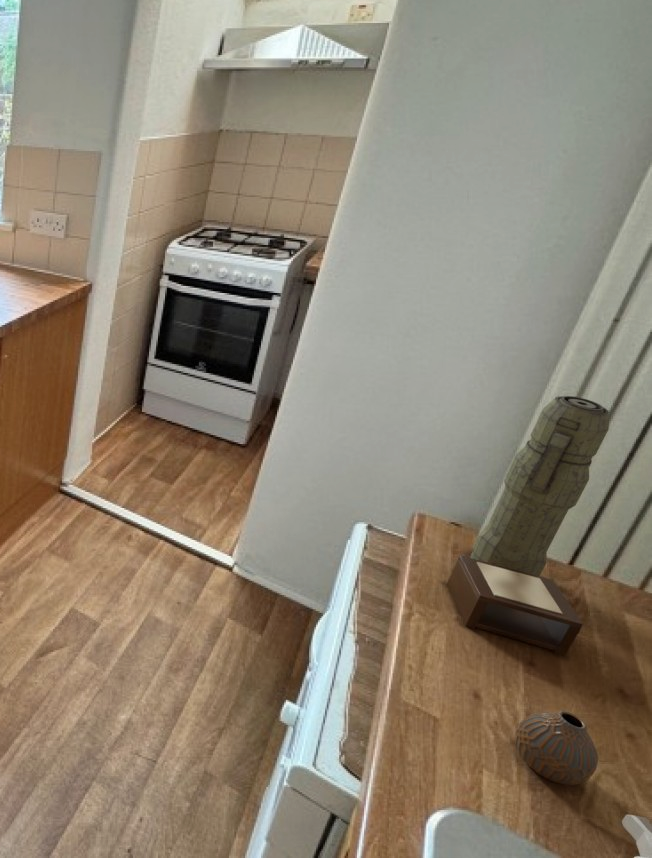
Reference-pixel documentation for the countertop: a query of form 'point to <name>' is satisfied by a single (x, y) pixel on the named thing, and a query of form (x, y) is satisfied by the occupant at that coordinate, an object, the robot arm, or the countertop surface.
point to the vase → (557, 747)
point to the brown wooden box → (513, 604)
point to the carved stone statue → (543, 484)
